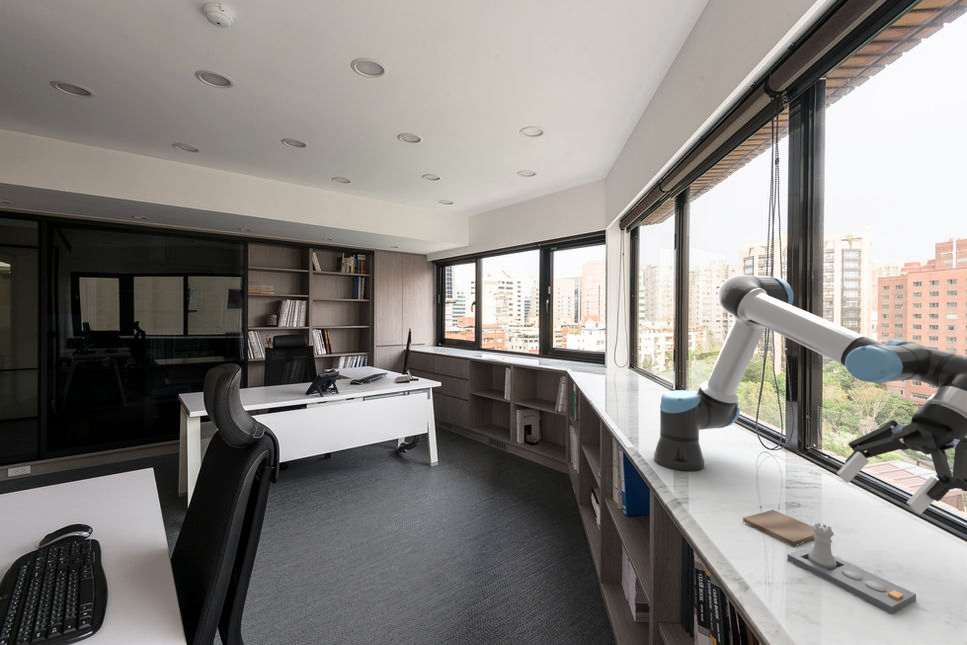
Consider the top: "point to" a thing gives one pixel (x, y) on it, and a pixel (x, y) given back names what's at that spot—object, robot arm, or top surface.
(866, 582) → the gray slotted board
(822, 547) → the rook chess piece
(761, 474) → the top surface
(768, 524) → the walnut pad
